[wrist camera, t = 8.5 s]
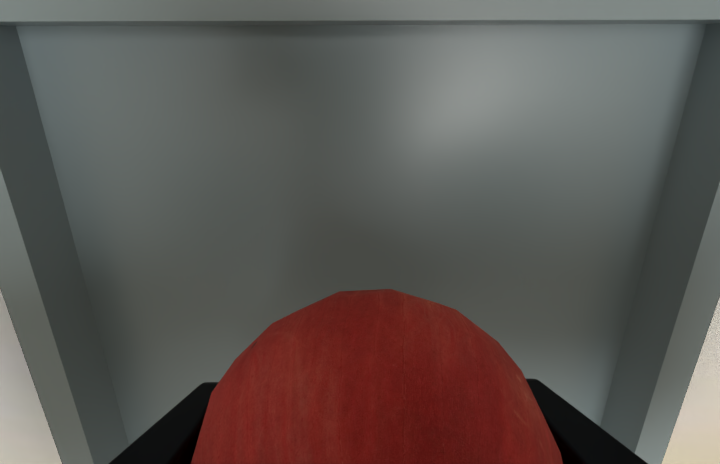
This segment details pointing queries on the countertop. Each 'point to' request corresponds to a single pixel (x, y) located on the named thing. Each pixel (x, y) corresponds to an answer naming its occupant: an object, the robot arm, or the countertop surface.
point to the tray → (357, 190)
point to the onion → (374, 391)
